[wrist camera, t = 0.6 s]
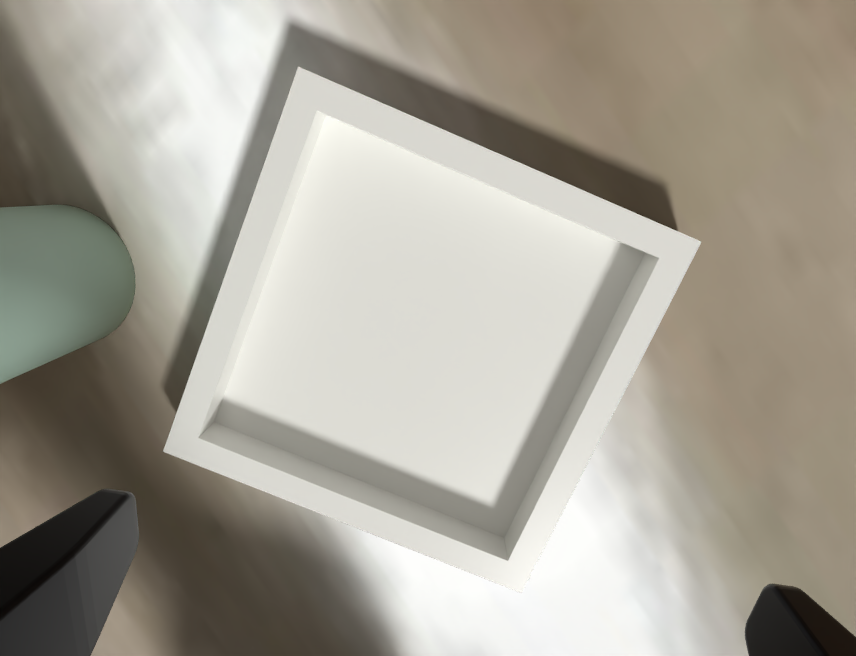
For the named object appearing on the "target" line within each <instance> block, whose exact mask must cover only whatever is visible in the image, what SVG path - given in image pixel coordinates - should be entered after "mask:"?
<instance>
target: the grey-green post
mask: <svg viewBox="0 0 856 656" xmlns="http://www.w3.org/2000/svg"><path fill="white" fill-rule="evenodd" d="M134 294H135V273H134V267H133V264H132V260H131V257H130V255H129V253H128V250H127V248H126V247H125V245H124V243H123V241H122V240H121V239H120V237H119V236H118V235H117V233H116V232H115V231H114V230H113V229H112V228H111V227H110V226H109V225H108V224H106V223H105V222H104V221H103V220H102V219H100V218H98V217H97V216H95V215H94V214H92V213H90V212H88V211H86V210H83V209H80V208H77V207H73V206H68V205H39V206H20V207H1V208H0V384H1V383H3V382H5V381H7V380H10V379H12V378H14V377H16V376H19V375H21V374H23V373H25V372H28V371H30V370H32V369H34V368H37V367H39V366H41V365H43V364H46V363H48V362H50V361H52V360H55V359H57V358H59V357H61V356H64V355H66V354H68V353H70V352H73V351H75V350H77V349H79V348H82V347H84V346H86V345H88V344H91V343H93V342H95V341H97V340H99V339H101V338H103V337H105V336H107V335H109V334H110V333H111V332H113V331H114V330H115V329H116V328H117V327H118V326H119V325H120V324H121V323H122V322H123V320H124V319H125V318H126V316H127V314H128V312H129V310H130V308H131V305H132V303H133V298H134Z"/></svg>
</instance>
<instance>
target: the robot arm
mask: <svg viewBox="0 0 856 656" xmlns="http://www.w3.org/2000/svg"><path fill="white" fill-rule="evenodd" d="M138 541H139V529H138V519H137V508H136V500H135V497H134V495H133V494H132V493H131V492H128V491H121V490H114V489H102V490H100V491H98V492H96V493H94V494H92V495H91V496H89V497H87V498H85V499H84V500H82V501H80V502H79V503H77V504H75V505H73V506H72V507H70V508H68V509H66V510H65V511H63V512H61V513H60V514H58V515H56V516H54V517H53V518H51V519H49V520H47V521H46V522H44V523H42V524H41V525H39V526H37V527H35V528H34V529H32V530H30V531H28V532H27V533H25V534H23V535H22V536H20V537H18V538H16V539H15V540H13V541H11V542H9V543H8V544H6V545H4V546H3V547H1V548H0V656H90V655H91V653H92V651H93V649H94V647H95V645H96V642H97V640H98V638H99V636H100V634H101V631H102V629H103V627H104V624H105V622H106V620H107V617H108V615H109V613H110V610H111V608H112V606H113V603H114V601H115V599H116V597H117V594H118V592H119V590H120V587H121V585H122V583H123V580H124V578H125V576H126V573H127V571H128V569H129V566H130V564H131V562H132V560H133V557H134V555H135V552H136V549H137V546H138ZM745 640H746V645H747V649H748V654H749V656H856V637H855V636H854V635H853V634H852V633H851V632H849V631H848V630H847V629H846V628H845V627H844V626H842V625H841V624H840V623H839V622H838V621H837V620H836V619H834V618H833V617H832V616H831V615H830V614H829V613H828V612H826V611H825V610H824V609H823V608H822V607H821V606H820V605H818V604H817V603H816V602H815V601H814V600H813V599H812V598H810V597H809V596H808V595H807V594H806V593H805V592H803V591H802V590H801V589H799V588H796V587H793V586H786V585H779V584H768V585H767V586H765V587H764V588H763V590H762V592H761V594H760V596H759V598H758V600H757V602H756V604H755V606H754V608H753V610H752V612H751V614H750V616H749V618H748V620H747V623H746V627H745Z"/></svg>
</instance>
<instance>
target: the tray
mask: <svg viewBox="0 0 856 656" xmlns="http://www.w3.org/2000/svg"><path fill="white" fill-rule="evenodd" d="M700 244H701V241H699V240H696V239H694V238H692V237H689V236H687V235H685V234H682V233H680V232H678V231H676V230H673V229H671V228H669V227H666V226H664V225H662V224H659V223H657V222H655V221H653V220H650V219H648V218H646V217H643V216H641V215H639V214H636V213H634V212H632V211H630V210H627V209H625V208H623V207H620V206H618V205H616V204H613V203H611V202H609V201H607V200H604V199H602V198H600V197H597V196H595V195H593V194H590V193H588V192H586V191H584V190H581V189H579V188H577V187H574V186H572V185H570V184H567V183H565V182H563V181H561V180H558V179H556V178H554V177H551V176H549V175H547V174H544V173H542V172H540V171H538V170H535V169H533V168H531V167H528V166H526V165H524V164H521V163H519V162H517V161H515V160H512V159H510V158H508V157H505V156H503V155H501V154H498V153H496V152H494V151H492V150H489V149H487V148H485V147H482V146H480V145H478V144H475V143H473V142H471V141H469V140H466V139H464V138H462V137H459V136H457V135H455V134H452V133H450V132H448V131H446V130H443V129H441V128H439V127H436V126H434V125H432V124H429V123H427V122H425V121H423V120H420V119H418V118H416V117H413V116H411V115H409V114H406V113H404V112H402V111H399V110H397V109H395V108H393V107H390V106H388V105H386V104H383V103H381V102H379V101H376V100H374V99H372V98H370V97H367V96H365V95H363V94H360V93H358V92H356V91H353V90H351V89H349V88H347V87H344V86H342V85H340V84H337V83H335V82H333V81H330V80H328V79H326V78H324V77H321V76H319V75H317V74H314V73H312V72H310V71H307V70H305V69H303V68H301V67H298V68H297V71H296V74H295V77H294V80H293V83H292V86H291V88H290V91H289V94H288V97H287V100H286V103H285V106H284V108H283V111H282V114H281V117H280V120H279V123H278V125H277V128H276V131H275V134H274V137H273V140H272V143H271V145H270V148H269V151H268V154H267V157H266V160H265V163H264V165H263V168H262V171H261V174H260V177H259V180H258V182H257V185H256V188H255V191H254V194H253V197H252V200H251V202H250V205H249V208H248V211H247V214H246V217H245V220H244V222H243V225H242V228H241V231H240V234H239V237H238V240H237V242H236V245H235V248H234V251H233V254H232V257H231V259H230V262H229V265H228V268H227V271H226V274H225V277H224V279H223V282H222V285H221V288H220V291H219V294H218V297H217V299H216V302H215V305H214V308H213V311H212V314H211V316H210V319H209V322H208V325H207V328H206V331H205V334H204V336H203V339H202V342H201V345H200V348H199V351H198V354H197V356H196V359H195V362H194V365H193V368H192V371H191V374H190V376H189V379H188V382H187V385H186V388H185V391H184V393H183V396H182V399H181V402H180V405H179V408H178V411H177V413H176V416H175V419H174V422H173V425H172V428H171V431H170V433H169V436H168V439H167V442H166V445H165V448H164V451H163V452H165V453H168V454H170V455H173V456H175V457H178V458H180V459H183V460H185V461H188V462H191V463H193V464H196V465H198V466H201V467H203V468H206V469H208V470H211V471H213V472H216V473H218V474H221V475H223V476H226V477H229V478H231V479H234V480H236V481H239V482H241V483H244V484H246V485H249V486H251V487H254V488H256V489H259V490H261V491H264V492H267V493H269V494H272V495H274V496H277V497H279V498H282V499H284V500H287V501H289V502H292V503H294V504H297V505H299V506H302V507H305V508H307V509H310V510H312V511H315V512H317V513H320V514H322V515H325V516H327V517H330V518H332V519H335V520H337V521H340V522H342V523H345V524H348V525H350V526H353V527H355V528H358V529H360V530H363V531H365V532H368V533H370V534H373V535H375V536H378V537H380V538H383V539H386V540H388V541H391V542H393V543H396V544H398V545H401V546H403V547H406V548H408V549H411V550H413V551H416V552H418V553H421V554H424V555H426V556H429V557H431V558H434V559H436V560H439V561H441V562H444V563H446V564H449V565H451V566H454V567H456V568H459V569H462V570H464V571H467V572H469V573H472V574H474V575H477V576H479V577H482V578H484V579H487V580H489V581H492V582H494V583H497V584H500V585H502V586H505V587H507V588H510V589H512V590H515V591H517V592H520V593H522V591H523V589H524V587H525V585H526V584H527V582H528V580H529V578H530V576H531V574H532V572H533V570H534V568H535V566H536V564H537V562H538V560H539V558H540V556H541V554H542V552H543V550H544V548H545V546H546V544H547V542H548V541H549V539H550V537H551V535H552V533H553V531H554V529H555V527H556V525H557V523H558V521H559V519H560V517H561V515H562V513H563V511H564V509H565V507H566V505H567V503H568V501H569V499H570V498H571V496H572V494H573V492H574V490H575V488H576V486H577V484H578V482H579V480H580V478H581V476H582V474H583V472H584V470H585V468H586V466H587V464H588V462H589V460H590V458H591V457H592V455H593V453H594V451H595V449H596V447H597V445H598V443H599V441H600V439H601V437H602V435H603V433H604V431H605V429H606V427H607V425H608V423H609V421H610V419H611V417H612V415H613V414H614V412H615V410H616V408H617V406H618V404H619V402H620V400H621V398H622V396H623V394H624V392H625V390H626V388H627V386H628V384H629V382H630V380H631V378H632V376H633V374H634V373H635V371H636V369H637V367H638V365H639V363H640V361H641V359H642V357H643V355H644V353H645V351H646V349H647V347H648V345H649V343H650V341H651V339H652V337H653V335H654V333H655V331H656V330H657V328H658V326H659V324H660V322H661V320H662V318H663V316H664V314H665V312H666V310H667V308H668V306H669V304H670V302H671V300H672V298H673V296H674V294H675V292H676V290H677V289H678V287H679V285H680V283H681V281H682V279H683V277H684V275H685V273H686V271H687V269H688V267H689V265H690V263H691V261H692V259H693V257H694V255H695V253H696V251H697V249H698V247H699V246H700Z"/></svg>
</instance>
